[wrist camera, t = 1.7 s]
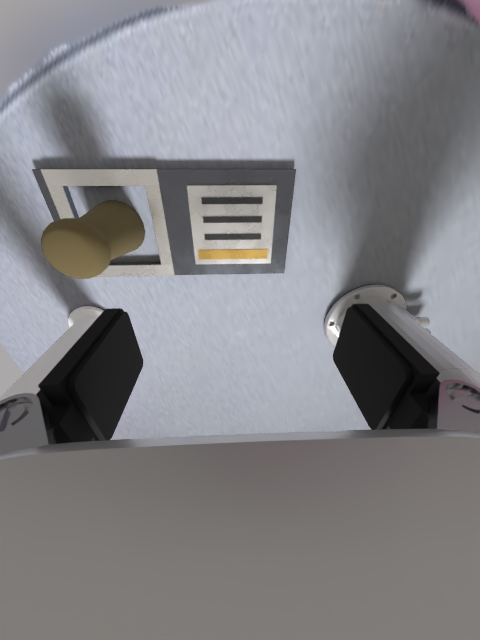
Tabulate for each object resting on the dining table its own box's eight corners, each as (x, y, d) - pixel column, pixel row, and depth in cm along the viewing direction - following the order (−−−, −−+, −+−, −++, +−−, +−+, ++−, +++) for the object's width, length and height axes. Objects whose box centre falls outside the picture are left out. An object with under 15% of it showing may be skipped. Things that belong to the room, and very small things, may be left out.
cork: (152, 247, 30) (117, 282, 20) (108, 255, 30) (55, 293, 21) (132, 195, 26) (81, 209, 17) (83, 205, 27) (6, 224, 17)
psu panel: (294, 169, 25) (296, 169, 24) (282, 271, 32) (284, 274, 31) (37, 169, 24) (29, 169, 24) (80, 274, 31) (76, 277, 30)
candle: (84, 344, 38) (-90, 557, 17) (61, 308, 34) (-202, 528, 13) (125, 339, 38) (-1, 549, 17) (107, 302, 34) (-88, 517, 13)
